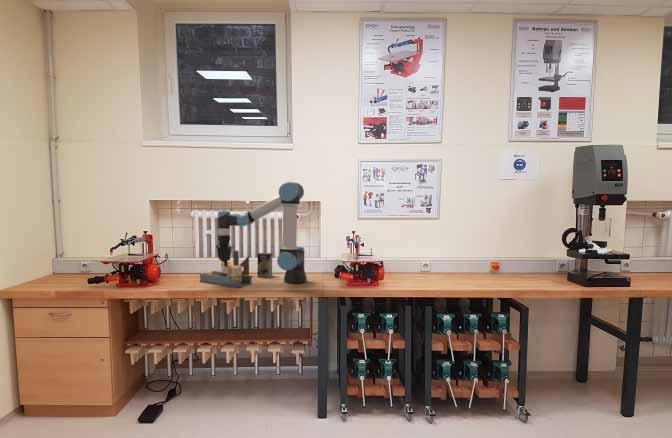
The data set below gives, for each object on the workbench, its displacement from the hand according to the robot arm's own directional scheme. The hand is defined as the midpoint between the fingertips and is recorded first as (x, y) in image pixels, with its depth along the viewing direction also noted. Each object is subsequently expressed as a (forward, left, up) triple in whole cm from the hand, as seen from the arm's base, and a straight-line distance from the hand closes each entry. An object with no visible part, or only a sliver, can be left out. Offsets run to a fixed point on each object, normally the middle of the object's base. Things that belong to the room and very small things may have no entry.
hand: (224, 271), depth 237 cm
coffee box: (-9, -29, -8) cm, 31 cm away
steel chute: (-1, 0, -7) cm, 7 cm away
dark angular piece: (+5, -20, -8) cm, 22 cm away
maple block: (-9, 0, -6) cm, 11 cm away
